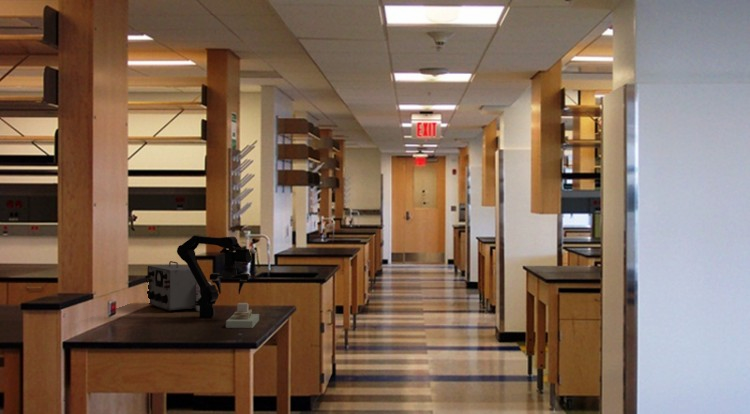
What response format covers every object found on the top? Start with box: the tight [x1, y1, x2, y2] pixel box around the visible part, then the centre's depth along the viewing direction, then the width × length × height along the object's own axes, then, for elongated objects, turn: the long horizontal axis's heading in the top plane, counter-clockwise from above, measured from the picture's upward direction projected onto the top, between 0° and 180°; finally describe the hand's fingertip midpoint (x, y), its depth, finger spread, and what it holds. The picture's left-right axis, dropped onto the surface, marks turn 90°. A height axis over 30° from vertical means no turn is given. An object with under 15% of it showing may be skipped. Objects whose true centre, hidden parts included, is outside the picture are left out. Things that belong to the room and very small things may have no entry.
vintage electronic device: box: [144, 260, 197, 313], centre depth 399 cm, size 32×18×25 cm, turn 37°
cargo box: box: [236, 302, 250, 312], centre depth 350 cm, size 4×4×4 cm
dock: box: [225, 313, 260, 329], centre depth 350 cm, size 12×22×3 cm, turn 1°
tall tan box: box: [233, 308, 253, 319], centre depth 350 cm, size 6×11×3 cm, turn 1°
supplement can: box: [195, 281, 213, 313], centre depth 391 cm, size 8×8×15 cm
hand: (229, 294), depth 365 cm, fingers open, 9 cm apart
